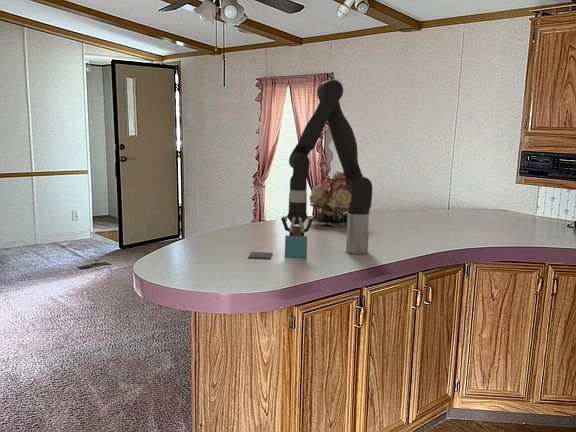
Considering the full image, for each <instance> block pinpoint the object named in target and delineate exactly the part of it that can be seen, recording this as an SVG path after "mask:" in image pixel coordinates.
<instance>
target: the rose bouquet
mask: <svg viewBox="0 0 576 432" xmlns="http://www.w3.org/2000/svg"><path fill="white" fill-rule="evenodd" d="M328 182H329V186H330V187H329V188H330V189H329V188H327V187H325V186H324V185H323V184H320V185H318V186H316V187H315V188H314V189H313V191H311V192H310V195H309V205H310V206H311V207H313V211H314V210H319V209H321V210H322V211H318V212H317V213H315V214H314V215H313V216H312V218H313V221H312V223H313V222H314V223H317V224H318V225H329V226H330V227H332V228H339V227H338V226H341V227H340V228H342V227H347V218H348V207H349V205H350V204H351V194H350V193H349V192H348V190H347V186H346V181H345V176H344V172H340V171H336V172H335V173H333V176H332V178H330V180H329V181H328ZM336 223H337V224H336Z"/></svg>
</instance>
